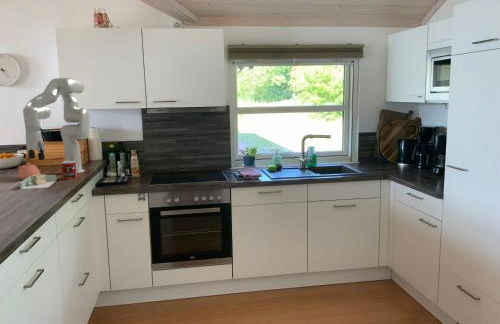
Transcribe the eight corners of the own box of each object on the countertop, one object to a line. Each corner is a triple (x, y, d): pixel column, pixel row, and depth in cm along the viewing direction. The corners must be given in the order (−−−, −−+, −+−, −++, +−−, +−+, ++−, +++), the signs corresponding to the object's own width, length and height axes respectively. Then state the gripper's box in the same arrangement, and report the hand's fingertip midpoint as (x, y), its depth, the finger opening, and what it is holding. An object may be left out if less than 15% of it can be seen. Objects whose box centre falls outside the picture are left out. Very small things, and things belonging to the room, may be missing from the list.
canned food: (62, 181, 247) (60, 163, 245) (64, 178, 254) (62, 161, 252) (76, 180, 249) (74, 162, 247) (77, 177, 256) (76, 160, 254)
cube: (32, 184, 237) (31, 175, 236) (41, 182, 241) (40, 174, 240) (37, 184, 234) (36, 176, 233) (46, 183, 238) (45, 174, 237)
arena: (30, 183, 243) (29, 176, 242) (56, 181, 245) (56, 174, 245) (20, 190, 225) (19, 182, 225) (48, 188, 228) (47, 180, 227)
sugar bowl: (31, 181, 249) (29, 164, 247) (11, 181, 252) (9, 164, 250) (45, 177, 261) (43, 161, 259) (26, 177, 264) (24, 161, 262)
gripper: (18, 129, 234) (22, 159, 237) (34, 130, 224) (38, 161, 227) (31, 128, 240) (35, 157, 243) (48, 129, 230) (51, 159, 233)
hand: (37, 159), depth 235 cm, fingers open, 9 cm apart
